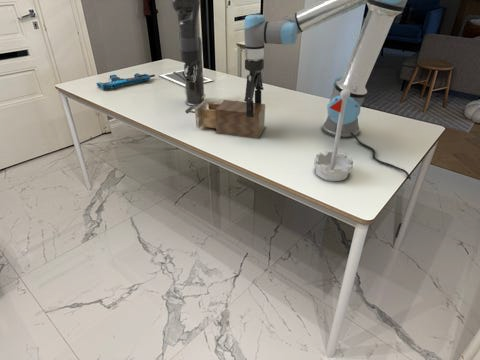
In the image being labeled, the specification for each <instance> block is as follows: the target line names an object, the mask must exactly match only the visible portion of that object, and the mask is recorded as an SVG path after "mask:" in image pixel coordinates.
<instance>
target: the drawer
mask: <svg viewBox="0 0 480 360" xmlns="http://www.w3.org/2000/svg"><path fill="white" fill-rule="evenodd" d="M220 104H221V103H217V102H208V107H207V100H205V101H203V102H202V103H201V104H200V105H198V106H191V105H189V107H188V108H186V109H185V111H184V112H185V114H189V113H191V114H194V115H195V127H196V129H199V128H200V127H204V128H211V129H216V111H215V109H216V108H217V107H218V106H219V105H220Z"/></svg>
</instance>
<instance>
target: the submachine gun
mask: <svg viewBox="0 0 480 360" xmlns="http://www.w3.org/2000/svg"><path fill="white" fill-rule="evenodd" d="M154 77H156V74H147V73H142V74H141V73H139V72H137V73H135V74H133V77H128V78H121V77H119V76H118V75H117V74H110V75H109V79H111V81H107V82H96V83H95V84H96V87H98V88H99V89H101V90H102V91H103V90H109V89H113V90H116V88H118V87H119V88H120V87H122V86H127V85H133V84H138V83H142V82H148V81H149V80H150V79H151V78H154Z"/></svg>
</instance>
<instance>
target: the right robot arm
mask: <svg viewBox="0 0 480 360" xmlns="http://www.w3.org/2000/svg"><path fill="white" fill-rule="evenodd" d="M407 2H408V0H319V1H316V2H315V3H313V4H310V5H308V6H307V7H304V8H302V9H300V10H298V11H296V12H294V13H292V14H290V15H287V16H285V17H283V18H282V19H281V20H279V21H267V20H266V17H265V15H263V14H248V15H246V16H245V18H244V28H243V30H244V49H243V53H244V58H245V59H244V69H245V70H246V71H248V72H249V74H248V75H246V86H245V95H244V99H243V102H246V115H247V117H253V103H260V104H262V91H263V90H264V87H263V86H264V84H263V77H262V70H264V68H265V60H264V58H265V44H270V45H284V46H287V45H288V46H289V45H294V44H295V43H296V41H297V37H298V35H299V34H301V33H303V32H306V31H309V30H310V29H312V28H314V27H317V26H320V25H322V24H324V23H326V22H328V21H331V20H332V19H335V18H337V17H339V16H341V15H344V14H347V13H349V12H351V11H352V10H355V9H357V8H359V7H363V6H364V5H367V8H368V11H367V13H366V16H365V19H364V21H363V24H362V27H361V29H360V32H359V34H358V37H357V39H356V41H355V45H354V48H353V50H352V52H351V55H350V58H349V61H348V63H347V66H346V68H345V71H344V74H343V76H339V77H336V78H335V79H334V82H333V84H332V85H333V86H332V87H333V88H332V93H331V96H330V99H329V100H328V101H329V102H328V103H327V105H326V106H327V108H326V111H327V117H326V120H325V121H324V123H323V126H322V130H323V132H324V133H325V134H326V135H329V136H332V137H336V131H337V125H338V119H339V113H340V112H337V111H335V110H333V109H331V108H329V107H331V106H332V105H334V104H335V103H337V102H338V101H340V100H341V99H342V98H341V96H340V93H341V91H342V90H344V89H347V90H349V92H350V96H349V98H347V101H346V107H345V113H344V118H343V124H342V130H341V135H340V139H341V138H342V139H349V138H354V139H355V141H356V142H357V143H358V144H360V145H361V146H363V147H365V148H367V149H369V150H371V152H372V159H373V160H374V161H376V162H377V163H379V164H382V165H385V166H389V167H391V168H393V169H396V170H398V171H401V172H403V173H404V174H405V175H406V177H407V179H408V180H412V177H411V175H410V174H409V172H408V171H407V170H405V169H404V168H402V167H399V166H396V165H394V164H391V163H388V162H387V161H386V162H385V161H383V160H381V159H378V158H377V157H376V150H375V149H374V148H372V147H371V146H370V145H367V144H365V143H363V142H362V141H360V140H359V138H358V137H357V135H359V132H360V125H359V118H358V117H359V115H360V114H361V107H362V105H363V103H364V100H365V98H366V96H367V94H368V90H367V87H366V86H367V82H368V80H369V78H370V76H371V73H372V71H373V69H374V66H375V64H376V62H377V59H378V57H379V55H380V52H381V50H382V48H383V45H384V43H385V41H386V38H387V36H388V34H389V32H390V29H391V26H392V25H393V22H394V20H395V18H396V17H397V16H399V15H400V14H402V13H403V11H404V9H405V7H406V5H407ZM402 224H403V222H400V223H399V224H398V227H397V229H396V233H395V238H396V239H397V238H399V237H398V236H399V233H400V231H401V228H402Z"/></svg>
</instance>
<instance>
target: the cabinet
mask: <svg viewBox="0 0 480 360" xmlns="http://www.w3.org/2000/svg"><path fill="white" fill-rule="evenodd" d="M219 104H220V105H219V106H218V107H217V108H216V109H215V111H216V128H215V131H216V132H215V133H216V134H221V135H222V134H223V135H229V136H237V137H245V138H254V139H259V138H260V136H261V134H262V132H263V131H264V129H265V121H266V119H265V118H266V103H261V104H260V103H255V102H253V117H247V115H246V102H245V101H240V100H239V101H238V100H231V99H230V100H229V99H223V100H222V102H221V103H219Z"/></svg>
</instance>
